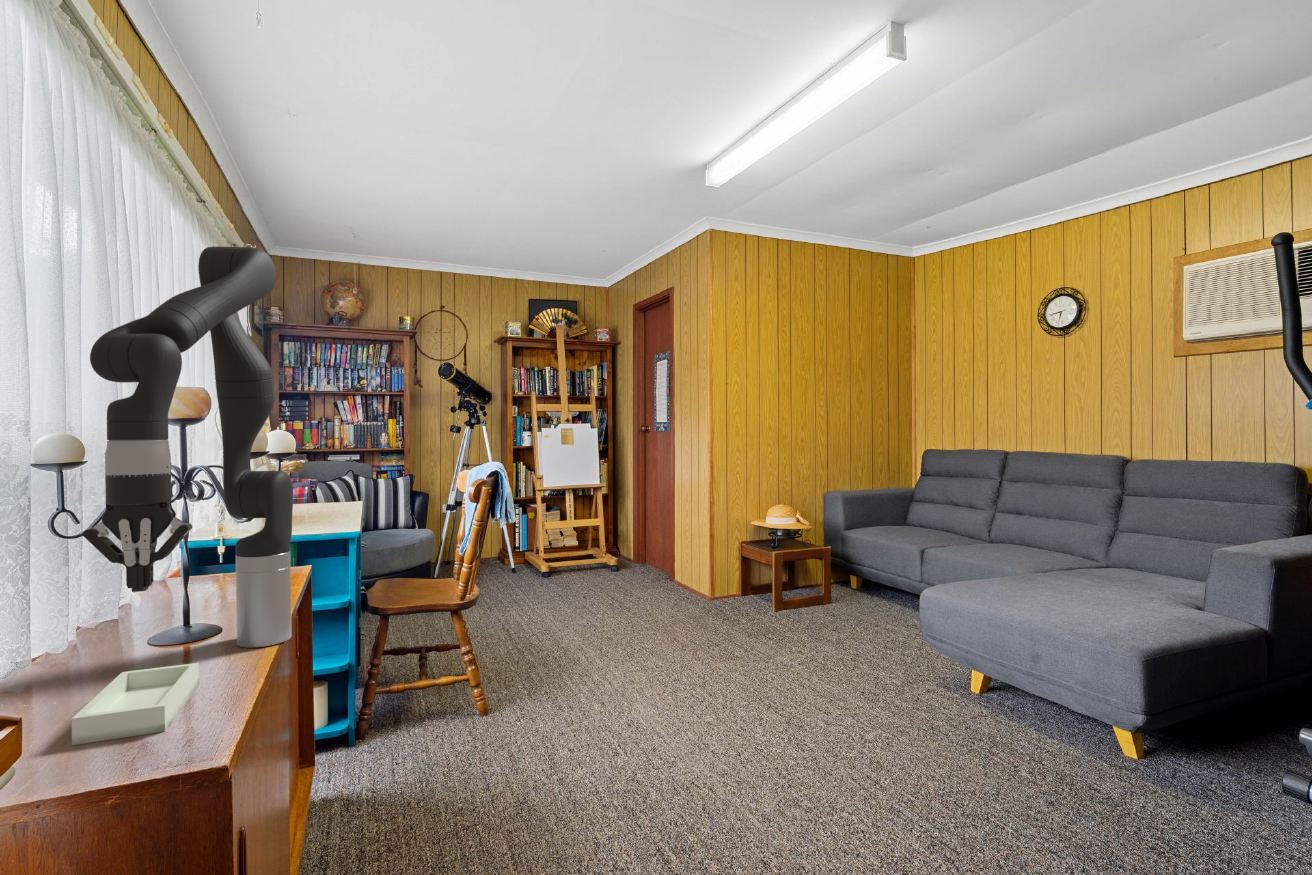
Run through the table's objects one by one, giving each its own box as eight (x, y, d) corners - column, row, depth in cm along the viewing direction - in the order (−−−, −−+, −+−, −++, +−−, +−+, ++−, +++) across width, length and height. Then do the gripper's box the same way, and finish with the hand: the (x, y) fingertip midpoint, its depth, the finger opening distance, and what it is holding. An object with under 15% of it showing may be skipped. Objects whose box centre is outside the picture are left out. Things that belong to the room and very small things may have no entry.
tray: (122, 694, 102) (122, 671, 102) (199, 684, 106) (198, 662, 106) (71, 745, 85) (71, 718, 85) (165, 731, 89) (164, 705, 89)
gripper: (69, 474, 89) (71, 601, 89) (186, 471, 94) (187, 591, 94) (92, 471, 96) (93, 589, 96) (199, 468, 101) (201, 580, 101)
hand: (140, 590), depth 95 cm, fingers closed
